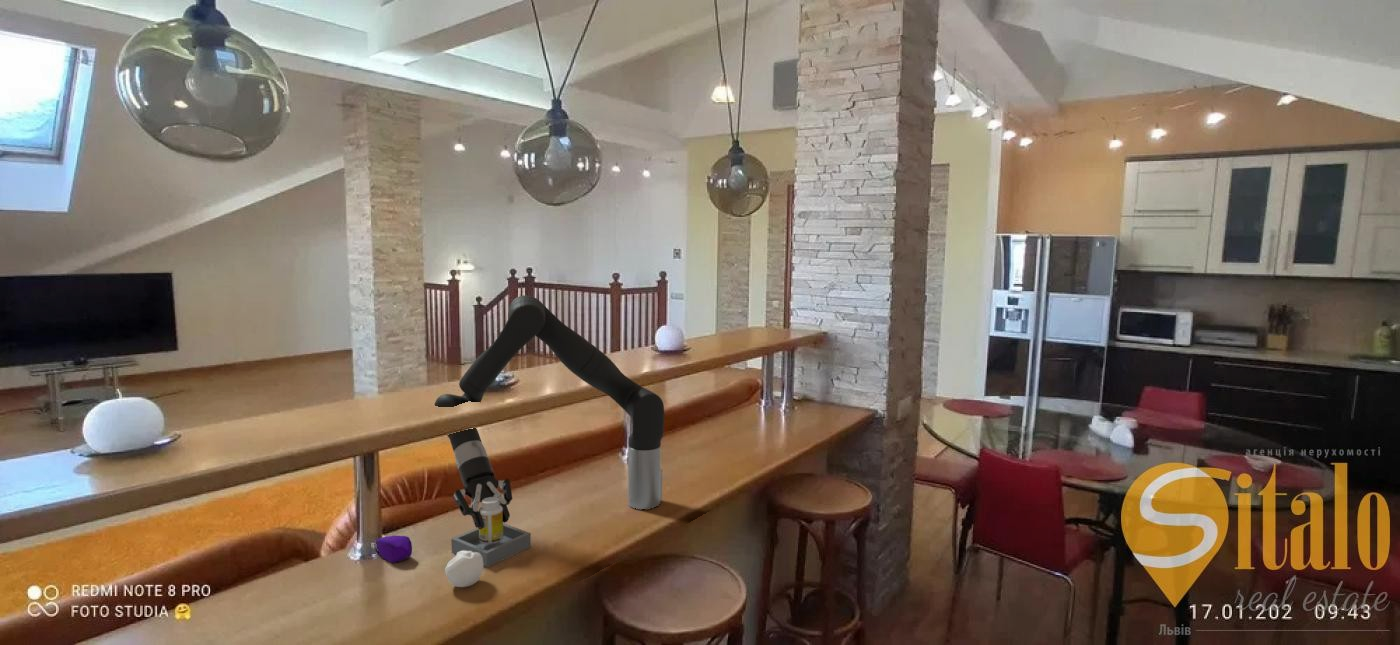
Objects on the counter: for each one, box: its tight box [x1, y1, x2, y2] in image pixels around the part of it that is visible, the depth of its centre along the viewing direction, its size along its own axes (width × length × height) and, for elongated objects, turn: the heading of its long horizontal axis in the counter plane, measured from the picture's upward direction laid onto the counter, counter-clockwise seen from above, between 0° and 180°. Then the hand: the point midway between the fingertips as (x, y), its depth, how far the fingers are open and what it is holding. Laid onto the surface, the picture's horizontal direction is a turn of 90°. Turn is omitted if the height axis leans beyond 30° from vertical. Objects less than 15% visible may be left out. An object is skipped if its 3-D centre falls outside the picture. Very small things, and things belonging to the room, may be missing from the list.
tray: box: [450, 522, 532, 568], centre depth 157 cm, size 13×13×4 cm
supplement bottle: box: [478, 497, 504, 545], centre depth 157 cm, size 6×6×10 cm
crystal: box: [376, 535, 413, 564], centre depth 153 cm, size 5×5×15 cm
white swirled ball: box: [444, 551, 484, 588], centre depth 140 cm, size 8×8×8 cm
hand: (494, 524), depth 155 cm, fingers closed on supplement bottle, 5 cm apart
